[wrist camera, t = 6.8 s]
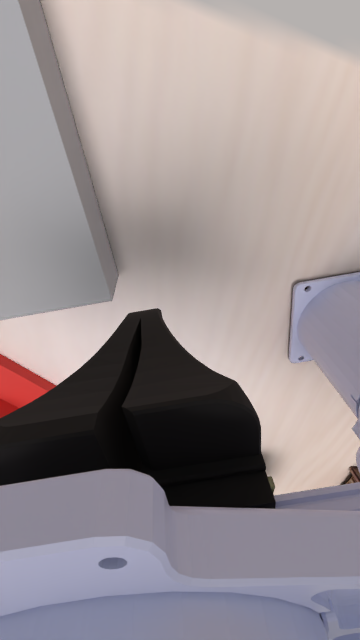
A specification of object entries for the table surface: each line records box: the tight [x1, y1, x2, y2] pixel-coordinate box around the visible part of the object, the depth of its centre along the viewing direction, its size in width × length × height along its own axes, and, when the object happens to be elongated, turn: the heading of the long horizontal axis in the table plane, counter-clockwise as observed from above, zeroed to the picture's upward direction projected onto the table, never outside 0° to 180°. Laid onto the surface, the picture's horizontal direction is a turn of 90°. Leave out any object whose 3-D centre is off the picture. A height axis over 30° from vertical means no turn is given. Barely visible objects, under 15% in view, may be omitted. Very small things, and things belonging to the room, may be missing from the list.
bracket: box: [0, 354, 56, 418], centre depth 23 cm, size 12×4×8 cm, turn 43°
